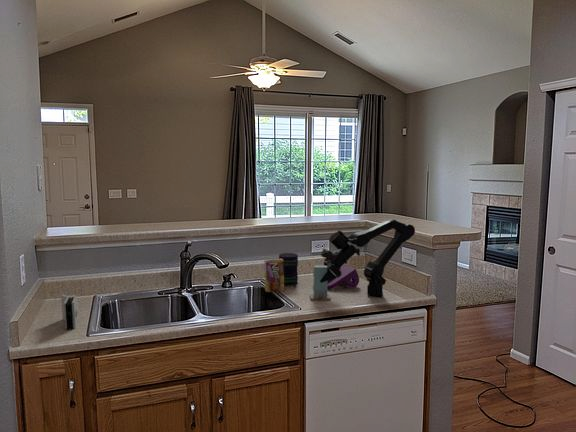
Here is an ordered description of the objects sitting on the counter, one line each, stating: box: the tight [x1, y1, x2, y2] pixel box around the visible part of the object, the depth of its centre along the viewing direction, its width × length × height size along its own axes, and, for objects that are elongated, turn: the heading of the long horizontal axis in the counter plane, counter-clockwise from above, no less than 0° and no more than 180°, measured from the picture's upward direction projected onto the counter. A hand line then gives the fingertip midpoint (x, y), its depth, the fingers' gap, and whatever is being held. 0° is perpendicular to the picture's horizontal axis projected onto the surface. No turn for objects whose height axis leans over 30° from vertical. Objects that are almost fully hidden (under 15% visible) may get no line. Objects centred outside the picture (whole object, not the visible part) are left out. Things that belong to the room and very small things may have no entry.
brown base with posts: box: [309, 290, 332, 302], centre depth 202 cm, size 9×6×4 cm
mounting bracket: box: [327, 264, 360, 291], centre depth 222 cm, size 9×8×18 cm
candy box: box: [264, 258, 285, 293], centre depth 213 cm, size 9×4×15 cm, turn 104°
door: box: [312, 265, 328, 297], centre depth 201 cm, size 6×3×14 cm, turn 92°
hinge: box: [60, 294, 79, 331], centre depth 169 cm, size 14×5×10 cm, turn 31°
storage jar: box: [278, 252, 299, 287], centre depth 226 cm, size 10×10×15 cm
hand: (319, 279), depth 201 cm, fingers open, 9 cm apart
